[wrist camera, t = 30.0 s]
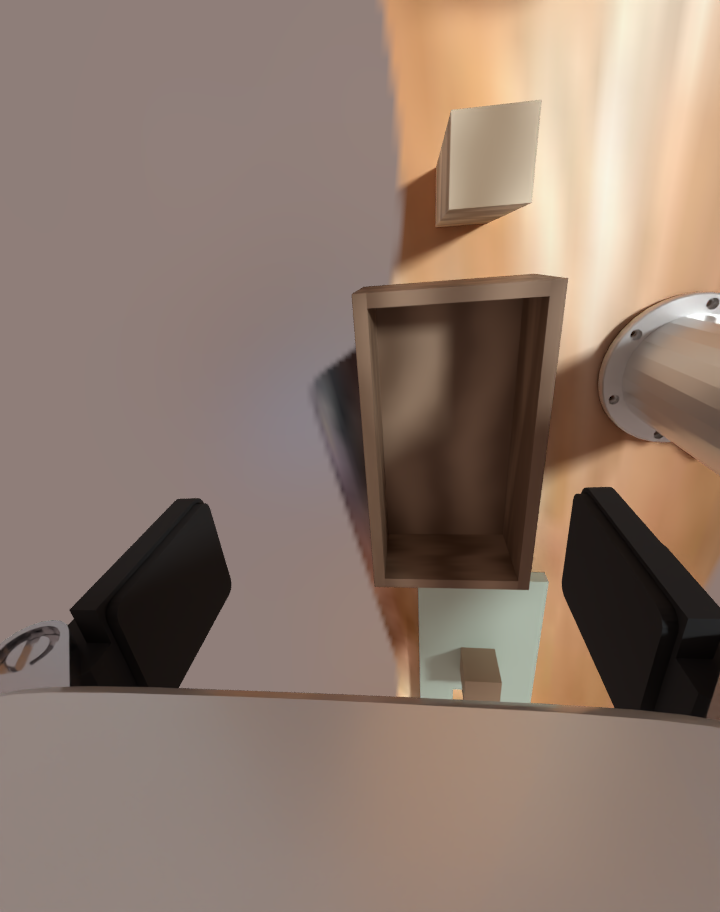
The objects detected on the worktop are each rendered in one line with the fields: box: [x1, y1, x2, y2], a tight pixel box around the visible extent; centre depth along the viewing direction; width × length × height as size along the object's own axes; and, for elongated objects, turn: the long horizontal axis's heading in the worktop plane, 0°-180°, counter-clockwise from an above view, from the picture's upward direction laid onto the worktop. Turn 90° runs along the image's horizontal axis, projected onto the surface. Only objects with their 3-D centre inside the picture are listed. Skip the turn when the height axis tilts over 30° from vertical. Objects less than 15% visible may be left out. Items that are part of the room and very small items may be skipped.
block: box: [435, 100, 542, 227], centre depth 26 cm, size 4×4×14 cm
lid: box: [418, 572, 549, 703], centre depth 50 cm, size 14×26×6 cm, turn 4°
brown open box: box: [352, 274, 568, 590], centre depth 36 cm, size 14×26×8 cm, turn 4°
